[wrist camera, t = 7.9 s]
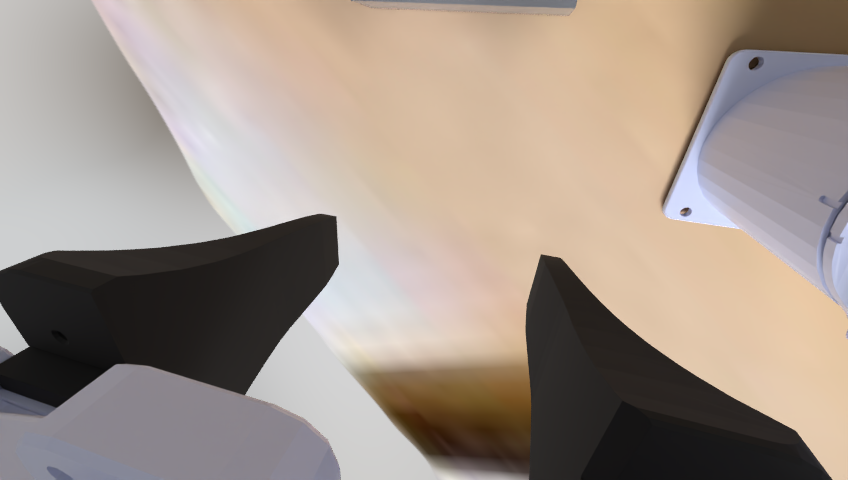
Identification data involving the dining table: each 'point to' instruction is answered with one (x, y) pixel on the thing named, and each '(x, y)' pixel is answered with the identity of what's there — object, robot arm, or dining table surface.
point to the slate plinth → (480, 6)
